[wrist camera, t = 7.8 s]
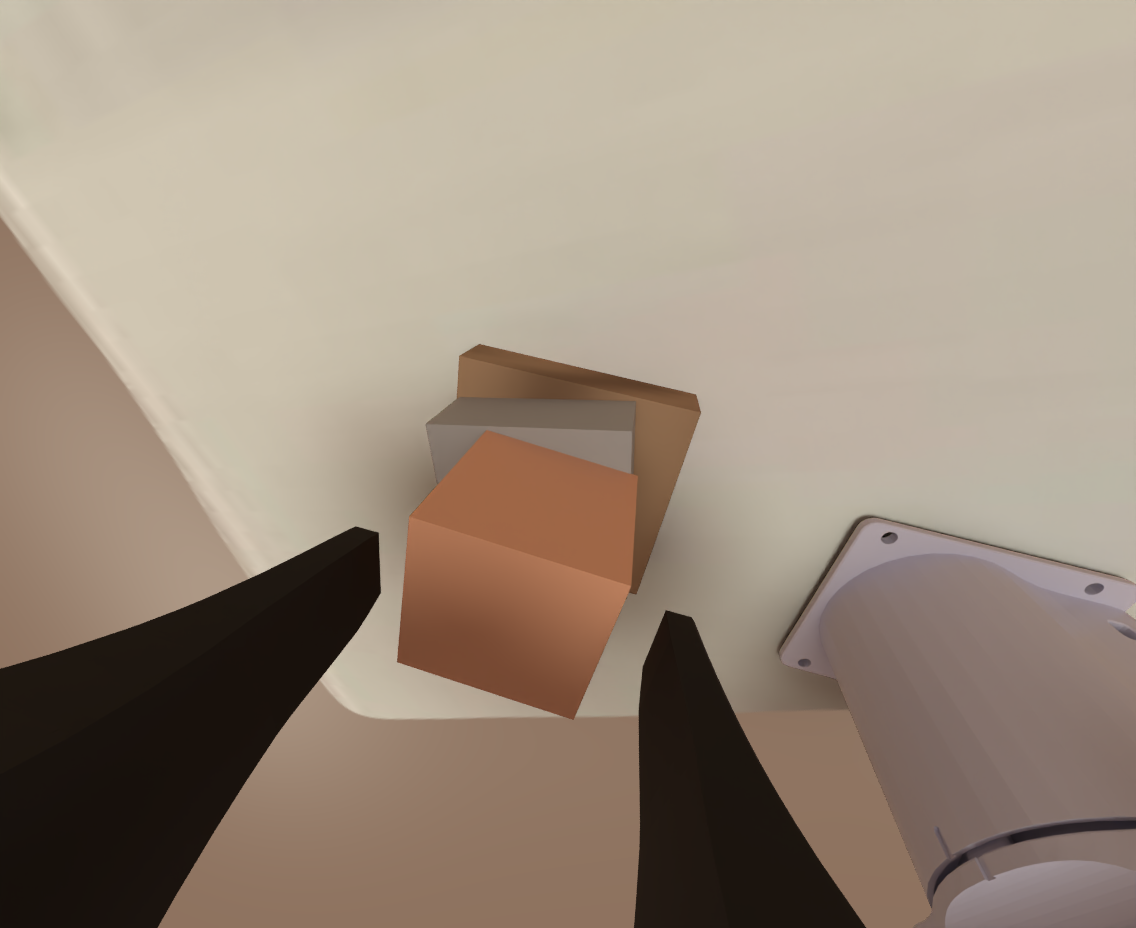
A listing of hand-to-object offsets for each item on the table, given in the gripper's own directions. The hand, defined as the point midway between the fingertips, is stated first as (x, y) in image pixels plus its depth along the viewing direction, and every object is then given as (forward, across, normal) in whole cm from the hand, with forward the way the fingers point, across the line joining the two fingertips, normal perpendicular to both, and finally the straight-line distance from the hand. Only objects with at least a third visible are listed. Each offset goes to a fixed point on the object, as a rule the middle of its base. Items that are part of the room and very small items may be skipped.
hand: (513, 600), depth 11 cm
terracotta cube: (+3, 0, 0) cm, 3 cm away
